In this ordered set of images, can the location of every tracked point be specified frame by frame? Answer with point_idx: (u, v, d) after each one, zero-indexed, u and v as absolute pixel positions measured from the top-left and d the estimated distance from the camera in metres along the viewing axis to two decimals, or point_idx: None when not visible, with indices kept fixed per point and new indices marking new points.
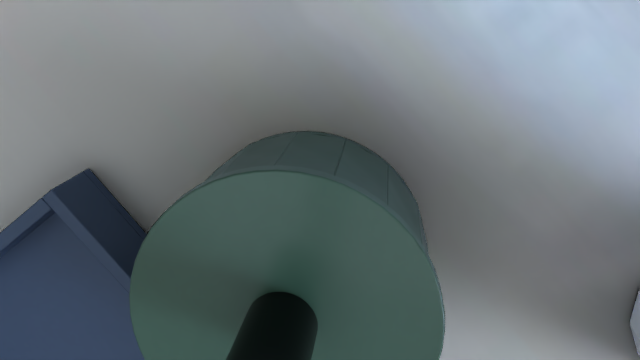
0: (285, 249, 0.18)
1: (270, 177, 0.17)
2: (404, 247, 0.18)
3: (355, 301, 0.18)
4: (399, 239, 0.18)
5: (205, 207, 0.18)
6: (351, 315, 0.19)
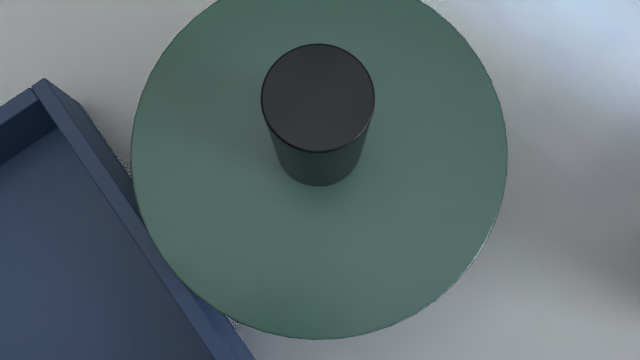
0: None
1: None
2: (456, 48, 0.17)
3: (405, 113, 0.16)
4: (450, 40, 0.17)
5: (242, 9, 0.17)
6: (401, 130, 0.16)
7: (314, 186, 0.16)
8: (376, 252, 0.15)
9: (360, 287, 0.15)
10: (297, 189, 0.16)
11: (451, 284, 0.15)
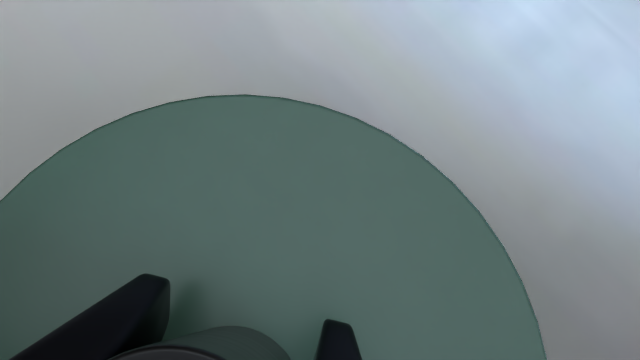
0: (248, 237, 0.10)
1: (232, 105, 0.10)
2: (463, 228, 0.10)
3: (378, 343, 0.10)
4: (454, 212, 0.10)
5: (109, 158, 0.10)
6: None
7: None
8: None
9: None
10: None
11: None
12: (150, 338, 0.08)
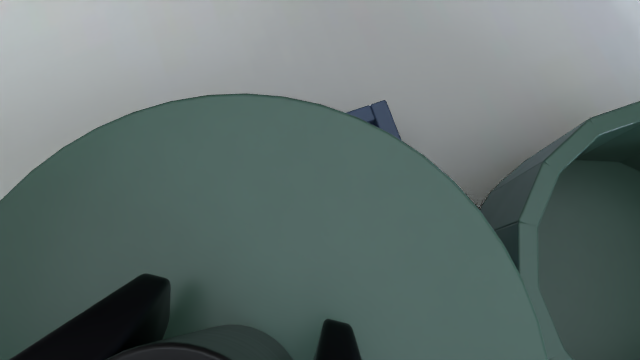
0: (249, 236, 0.10)
1: (233, 104, 0.10)
2: (464, 227, 0.10)
3: (378, 342, 0.10)
4: (454, 210, 0.10)
5: (110, 157, 0.10)
6: None
7: None
8: None
9: None
10: None
11: None
12: (150, 338, 0.08)
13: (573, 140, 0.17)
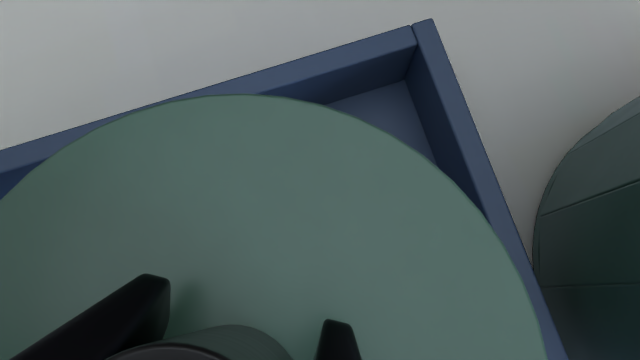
0: (248, 236, 0.10)
1: (232, 104, 0.10)
2: (464, 226, 0.10)
3: (378, 342, 0.09)
4: (455, 210, 0.10)
5: (110, 157, 0.10)
6: None
7: None
8: None
9: None
10: None
11: None
12: (150, 338, 0.08)
13: None
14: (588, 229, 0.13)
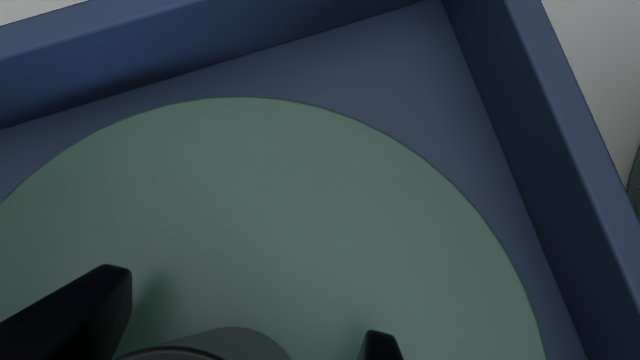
0: (249, 238, 0.10)
1: (233, 106, 0.10)
2: (465, 228, 0.10)
3: None
4: (455, 213, 0.10)
5: (110, 159, 0.10)
6: None
7: None
8: None
9: None
10: None
11: None
12: (110, 328, 0.08)
13: None
14: None
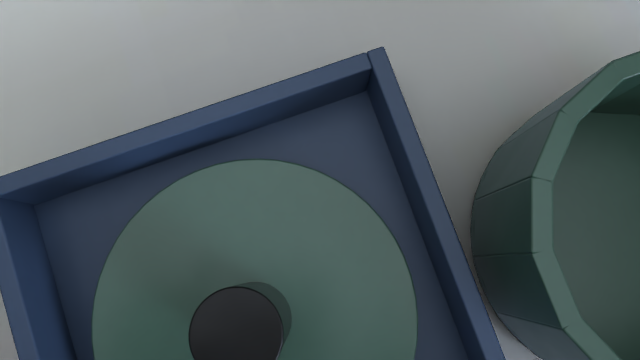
0: (261, 236, 0.19)
1: (250, 165, 0.19)
2: (374, 228, 0.19)
3: (329, 289, 0.19)
4: (369, 220, 0.19)
5: (186, 195, 0.19)
6: (326, 305, 0.19)
7: None
8: None
9: None
10: None
11: None
12: None
13: (594, 85, 0.15)
14: (500, 212, 0.17)
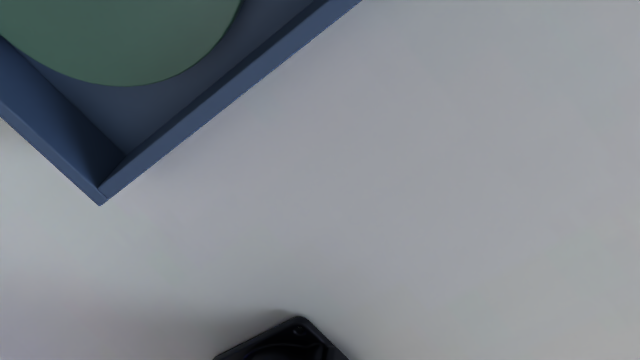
0: None
1: None
2: None
3: None
4: None
5: None
6: None
7: None
8: (170, 1, 0.18)
9: (173, 33, 0.19)
10: None
11: (237, 6, 0.18)
12: None
13: None
14: None
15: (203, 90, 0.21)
